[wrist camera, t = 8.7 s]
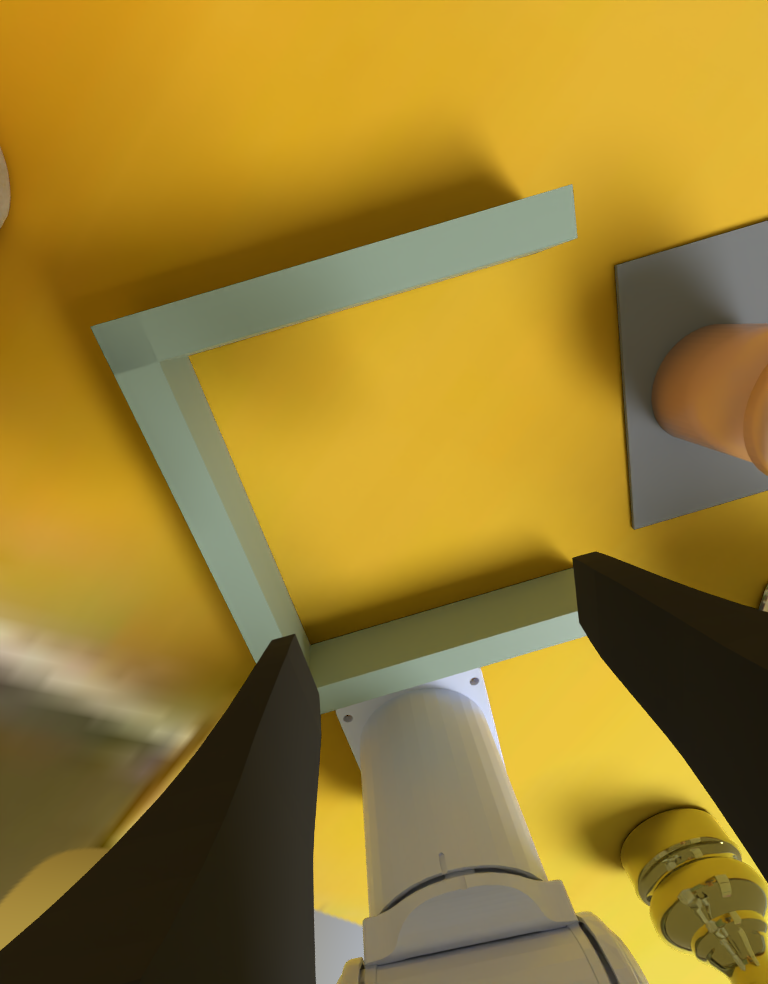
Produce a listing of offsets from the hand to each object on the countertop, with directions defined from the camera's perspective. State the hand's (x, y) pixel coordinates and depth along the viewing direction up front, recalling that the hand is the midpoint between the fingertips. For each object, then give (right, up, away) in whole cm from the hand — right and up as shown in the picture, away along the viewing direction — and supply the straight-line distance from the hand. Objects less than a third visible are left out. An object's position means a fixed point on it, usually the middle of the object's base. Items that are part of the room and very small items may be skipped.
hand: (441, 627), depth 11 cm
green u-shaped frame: (-1, +4, +8) cm, 9 cm away
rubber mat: (+14, +8, +8) cm, 18 cm away
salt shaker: (+19, -21, +20) cm, 35 cm away
